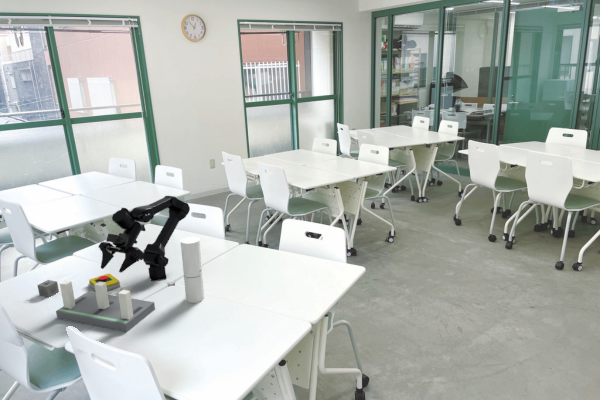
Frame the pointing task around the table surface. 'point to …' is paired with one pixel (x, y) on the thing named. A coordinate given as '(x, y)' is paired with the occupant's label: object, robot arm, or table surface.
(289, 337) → the table surface
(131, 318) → the slotted peg board
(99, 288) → the handle
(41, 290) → the dice cube
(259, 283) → the table surface
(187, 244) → the cylindrical container
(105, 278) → the emergency button
